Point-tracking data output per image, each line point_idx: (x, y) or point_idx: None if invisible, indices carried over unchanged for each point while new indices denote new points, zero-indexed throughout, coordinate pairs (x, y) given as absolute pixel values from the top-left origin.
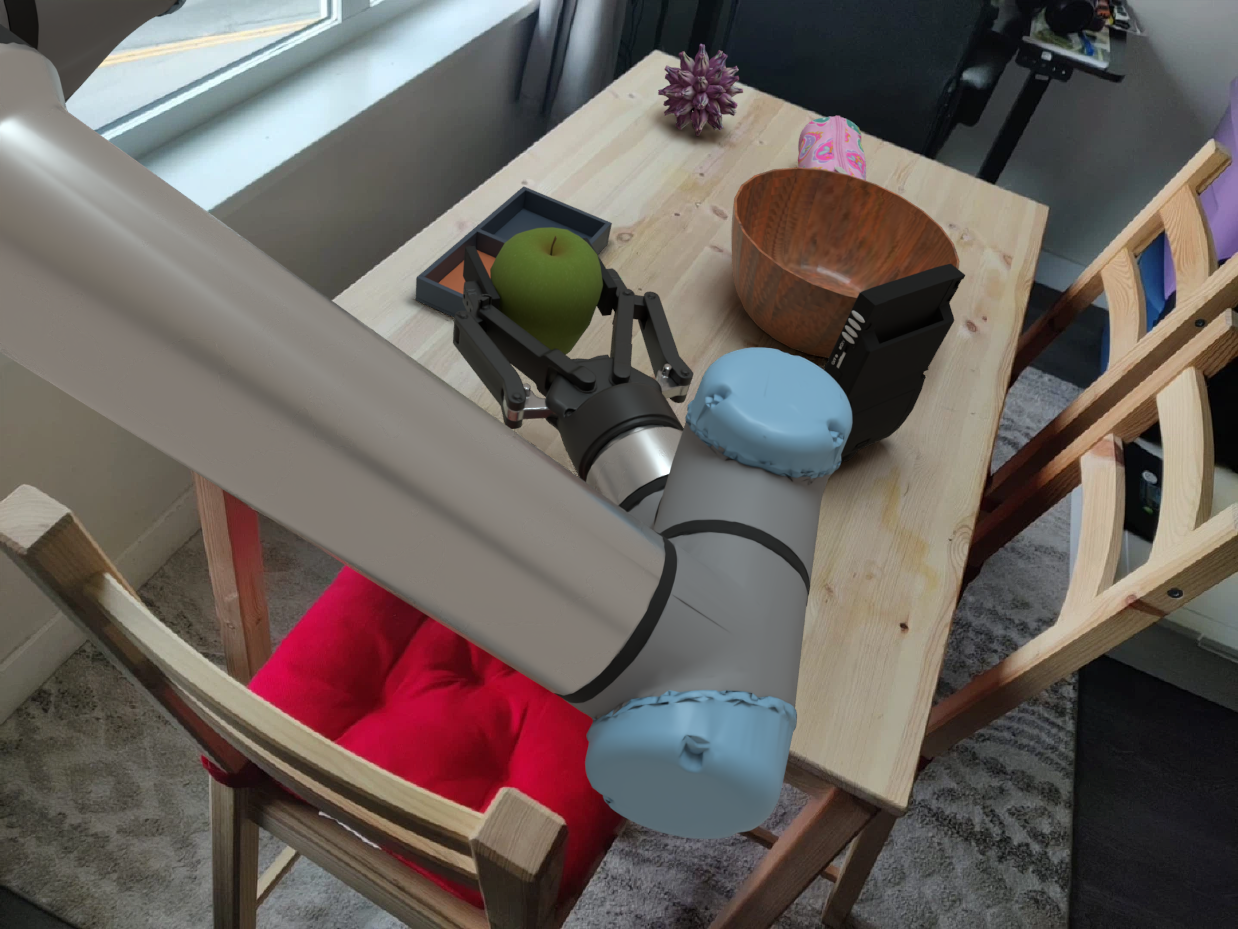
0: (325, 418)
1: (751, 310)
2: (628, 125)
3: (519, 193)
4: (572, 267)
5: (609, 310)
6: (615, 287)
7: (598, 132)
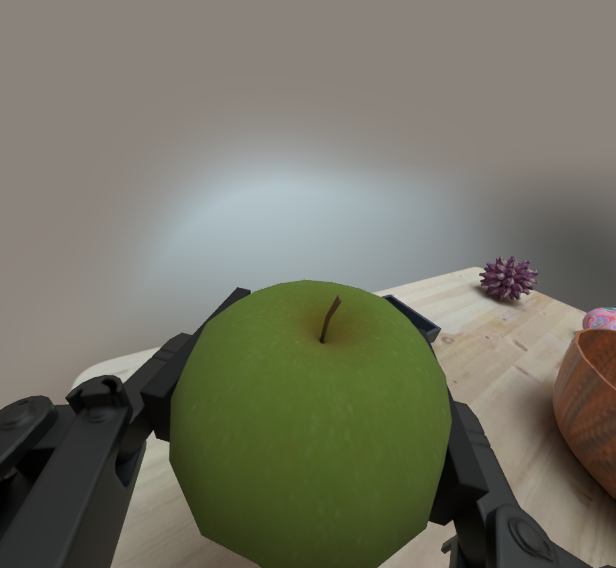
0: None
1: (588, 457)
2: (457, 286)
3: (386, 297)
4: (347, 409)
5: (443, 518)
6: (483, 491)
7: (440, 285)
